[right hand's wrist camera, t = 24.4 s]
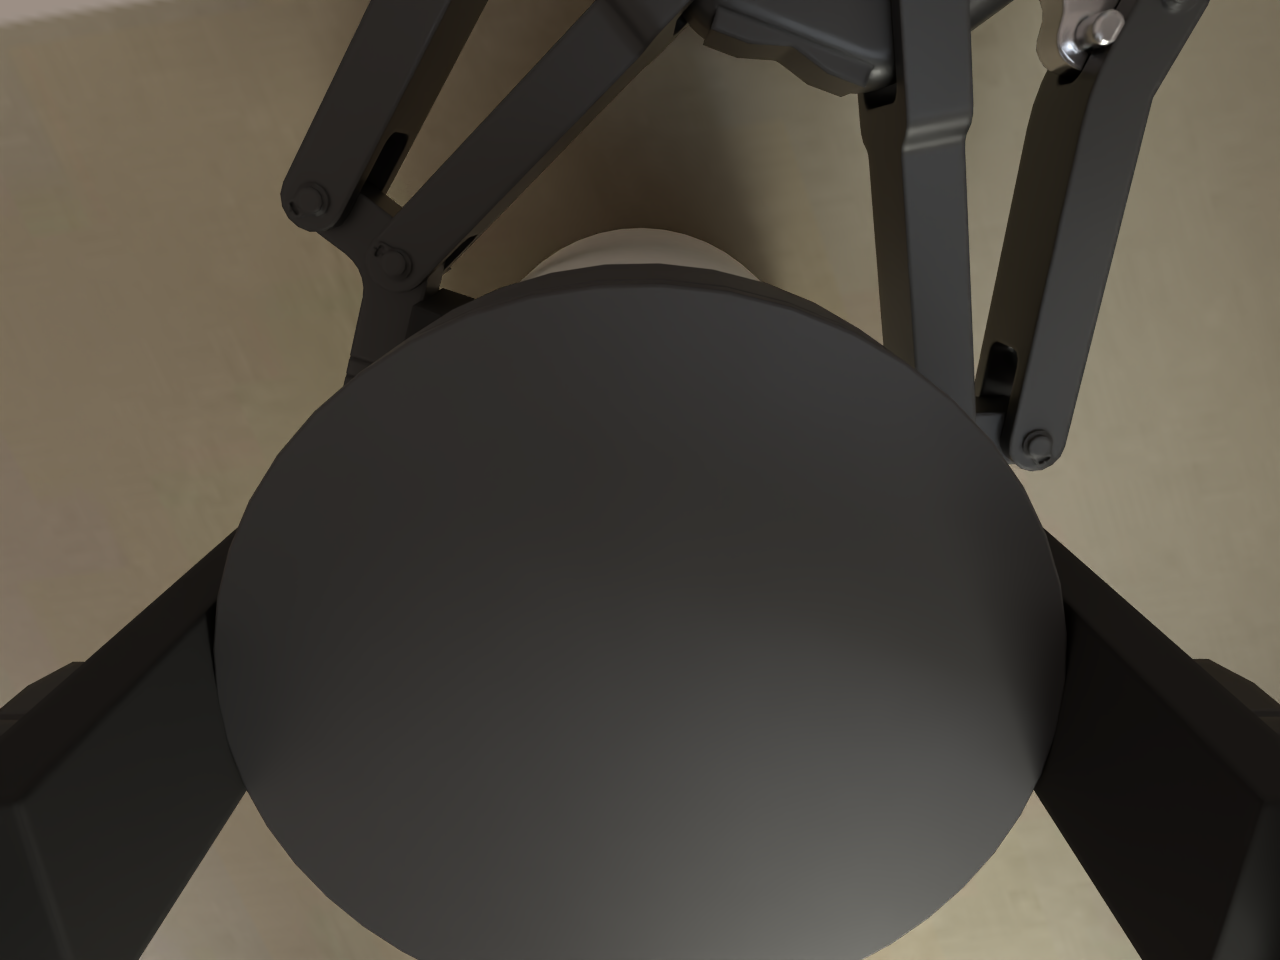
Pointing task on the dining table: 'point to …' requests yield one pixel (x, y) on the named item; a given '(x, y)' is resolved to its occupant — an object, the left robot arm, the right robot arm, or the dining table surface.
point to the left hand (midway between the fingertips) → (584, 618)
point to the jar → (640, 252)
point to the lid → (640, 631)
